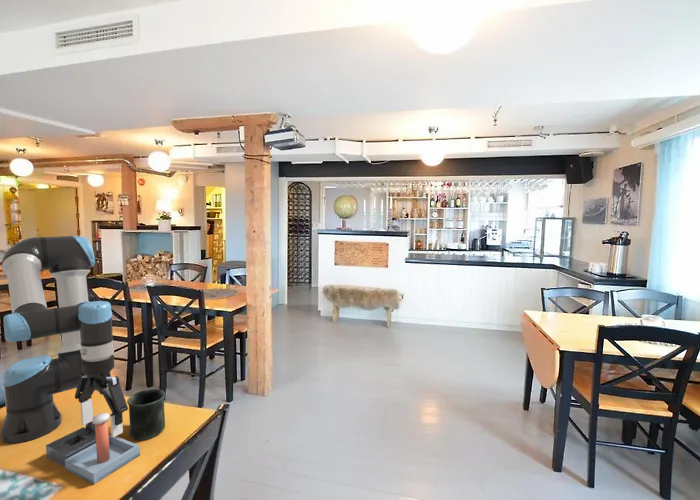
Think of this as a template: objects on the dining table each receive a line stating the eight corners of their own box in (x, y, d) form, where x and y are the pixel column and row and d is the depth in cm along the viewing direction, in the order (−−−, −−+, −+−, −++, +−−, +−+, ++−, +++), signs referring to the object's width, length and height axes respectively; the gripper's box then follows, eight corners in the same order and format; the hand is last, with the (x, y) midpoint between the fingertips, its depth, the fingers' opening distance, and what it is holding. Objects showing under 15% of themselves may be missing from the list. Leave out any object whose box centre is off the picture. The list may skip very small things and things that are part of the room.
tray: (65, 469, 101) (64, 459, 101) (112, 443, 113) (111, 434, 112) (94, 484, 96) (93, 473, 95) (140, 455, 107) (139, 445, 107)
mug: (136, 446, 111) (135, 409, 110) (119, 428, 121) (117, 394, 120) (172, 430, 120) (171, 396, 119) (153, 415, 129) (152, 382, 128)
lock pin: (92, 461, 103) (89, 418, 102) (106, 453, 107) (103, 411, 106) (100, 466, 101) (97, 422, 100) (114, 457, 105) (112, 415, 104)
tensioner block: (46, 458, 106) (44, 434, 105) (88, 436, 116) (87, 414, 116) (66, 468, 102) (64, 443, 101) (108, 444, 112) (107, 421, 111)
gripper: (57, 354, 103) (61, 424, 105) (112, 370, 93) (116, 447, 95) (85, 345, 110) (89, 411, 112) (140, 359, 100) (143, 432, 101)
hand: (102, 428), depth 103 cm, fingers open, 13 cm apart
